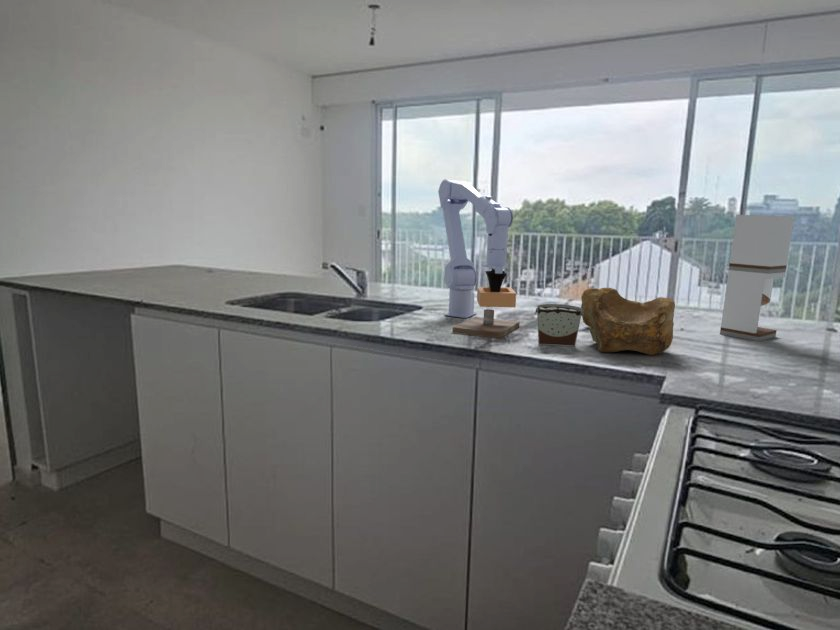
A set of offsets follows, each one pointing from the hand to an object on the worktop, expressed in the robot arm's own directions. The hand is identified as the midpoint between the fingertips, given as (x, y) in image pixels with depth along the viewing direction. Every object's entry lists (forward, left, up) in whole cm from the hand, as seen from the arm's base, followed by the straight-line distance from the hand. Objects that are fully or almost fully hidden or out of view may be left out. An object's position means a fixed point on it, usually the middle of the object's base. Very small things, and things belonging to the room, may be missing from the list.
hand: (494, 295), depth 159 cm
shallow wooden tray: (+4, +2, -2) cm, 5 cm away
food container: (+11, +21, -10) cm, 26 cm away
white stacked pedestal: (-31, +69, -10) cm, 76 cm away
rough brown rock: (+10, +37, -10) cm, 40 cm away
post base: (+5, 0, -9) cm, 11 cm away
